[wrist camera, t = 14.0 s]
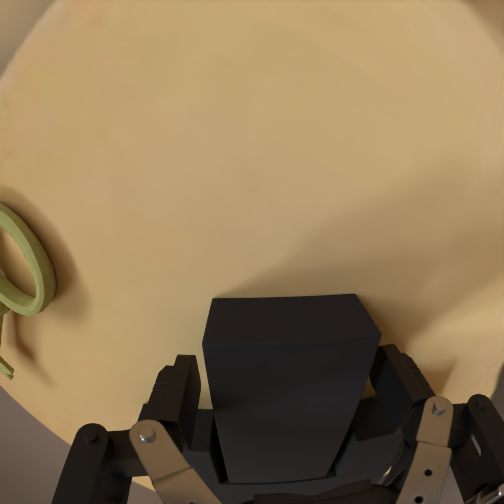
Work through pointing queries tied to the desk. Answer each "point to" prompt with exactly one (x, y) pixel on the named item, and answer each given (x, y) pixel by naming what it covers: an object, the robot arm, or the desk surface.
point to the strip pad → (286, 381)
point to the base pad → (341, 472)
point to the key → (8, 296)
